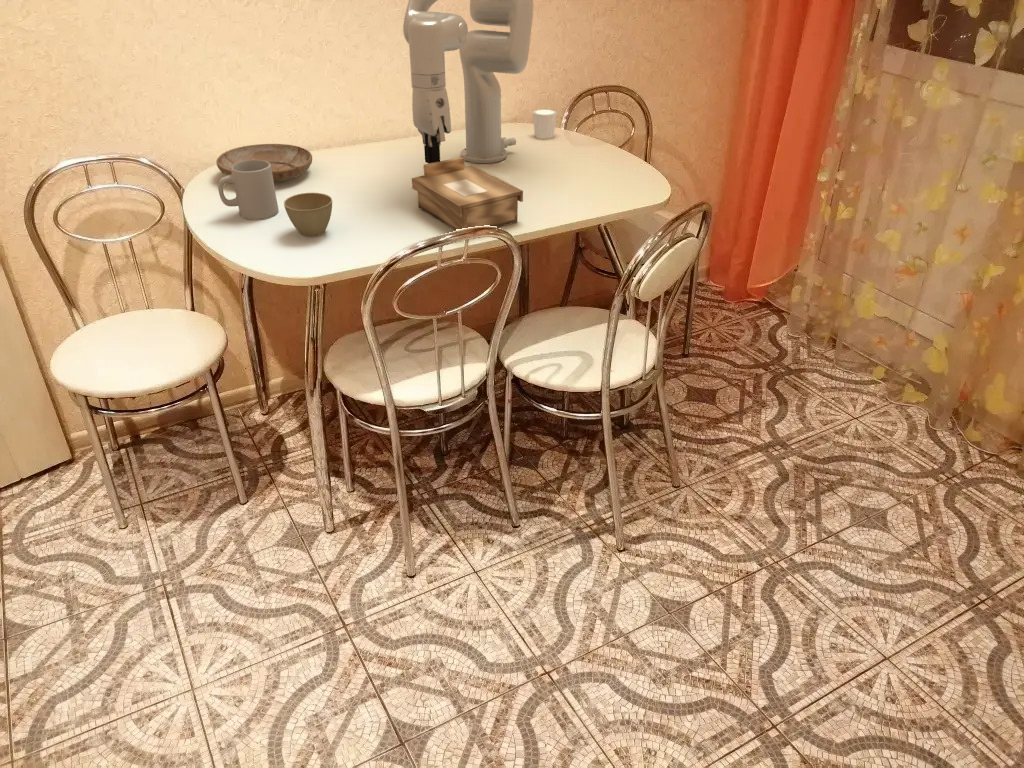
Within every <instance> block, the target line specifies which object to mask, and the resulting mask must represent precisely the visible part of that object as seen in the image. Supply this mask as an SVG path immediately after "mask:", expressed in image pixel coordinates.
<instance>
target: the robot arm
mask: <svg viewBox="0 0 1024 768" xmlns="http://www.w3.org/2000/svg"><path fill="white" fill-rule="evenodd" d="M437 1H438V0H408V2H407V6H406V9H405V10H406V11H405V13H404V18H403V24H402V25H403V26H402V32H403V36H404V37H403V38H404V40H405V41H406V42H407V44H408V46H409V62H410V79H411V80H410V81H411V88H412V96H411V98H412V99H411V100H412V101H411V102H412V103H411V104H412V105H411V106H412V108H411V109H412V119H413V120H412V121H413V125H414V127H415V128H416V129H417V131H418V133H420V134H421V139H422V144H423V145H424V146H423V147H424V148H423V149H424V162H425V164H429V163H434V162H439V161H441V149H440V146H441V143H443V142H446V135H445V134H450V133H452V124H451V123H452V122H451V121H452V120H451V111H450V110H451V109H450V101H449V96H448V95H449V94H448V92H447V91H448V90H447V88H446V87H447V86H446V85H447V84H446V65H445V64H446V62H445V52H451V51H453V52H454V51H457V50H459V52H458V53H459V58H460V62H461V67H462V74H463V75H462V77H463V86H464V91H463V92H464V113H465V114H464V115H465V116H464V120H465V148H463V149H462V150H461V151H460V157H462V158H464V161H466V162H469V163H473V164H491V163H492V164H493V163H498V162H500V161H501V162H502V161H504V160H505V159H507V157H508V152H507V150H506V148H507V147H513V146H515V145H517V139H516V138H515V137H512V138H507V137H502V89H501V86H500V83H499V81H498V78H497V76H496V75H495V73H498V74H499V73H500V74H509V75H510V74H512V75H518V74H521V73H522V72H523V71H524V70H525V69H526V66H527V63H528V59H529V52H530V44H531V35H532V27H533V18H534V0H470V1H469V13H470V14H469V15H470V18H471V20H472V21H473V22H474V23H477V24H479V25H486V26H496V27H509V31H496V30H488V29H487V30H486V29H474V30H470V31H468V30H469V27H468V24H467V21H466V20H465V19H464V17H462V16H461V15H459V14H457V13H451V12H450V13H449V12H441V11H440V12H439V11H429V10H430V8H431V7H432V5H434V3H436V2H437Z"/></svg>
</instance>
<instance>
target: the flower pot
mask: <svg viewBox="0 0 1024 768" xmlns="http://www.w3.org/2000/svg"><path fill="white" fill-rule="evenodd" d="M283 207H284V210H285V212H286V215H287V217H288V219H289V221H290V222H291V224H292V225H293V226H294V228H295V229H296V230H297V232H298V233H299V234H300V235H301V236H303V237H306V238H317V237H319V236H322V235H324V234H325V232H326V230H327V228H328V226H329V223H330V220H331V216H332V210H333V198H332V197H331V196H330V195H328V194H326V193H321V192H304V193H303V192H302V193H297V194H293V195H291V196H289V197H287V198H286V199H285V200H284V201H283Z"/></svg>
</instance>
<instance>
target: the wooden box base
mask: <svg viewBox="0 0 1024 768" xmlns="http://www.w3.org/2000/svg"><path fill="white" fill-rule="evenodd" d="M417 203H418V204H417V206H418V208H419V209H420V210H422V211H423V212H425V213H426V214H428V215H430V216H432V217H433V218H434V219H436V220H437V221H439V222H441V223H442V224H444V225H445V226H447V227H449V228H450V229H452V230H453V231H455V230H456V229H462V228H468V227H475V226H484V225H490V226H497V228H500V227H503V226H507V225H511V224H515V223H518V215H519V214H518V210H519V209H518V208H519V201H518V196H514V197H510V198H506V199H502V200H498V201H493V202H489V203H485V204H481V205H477V206H473V207H469V208H465V209H462V217H459V216H457V215H456V214H454V213H452V212H451V211H449V210H447V209H446V208H444V207H442V206H441V205H439V204H437V203H436V202H434V201H432V200H431V199H429V198H427V197H426V196H424V195H422V194H421V193H419V192H417Z"/></svg>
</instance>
